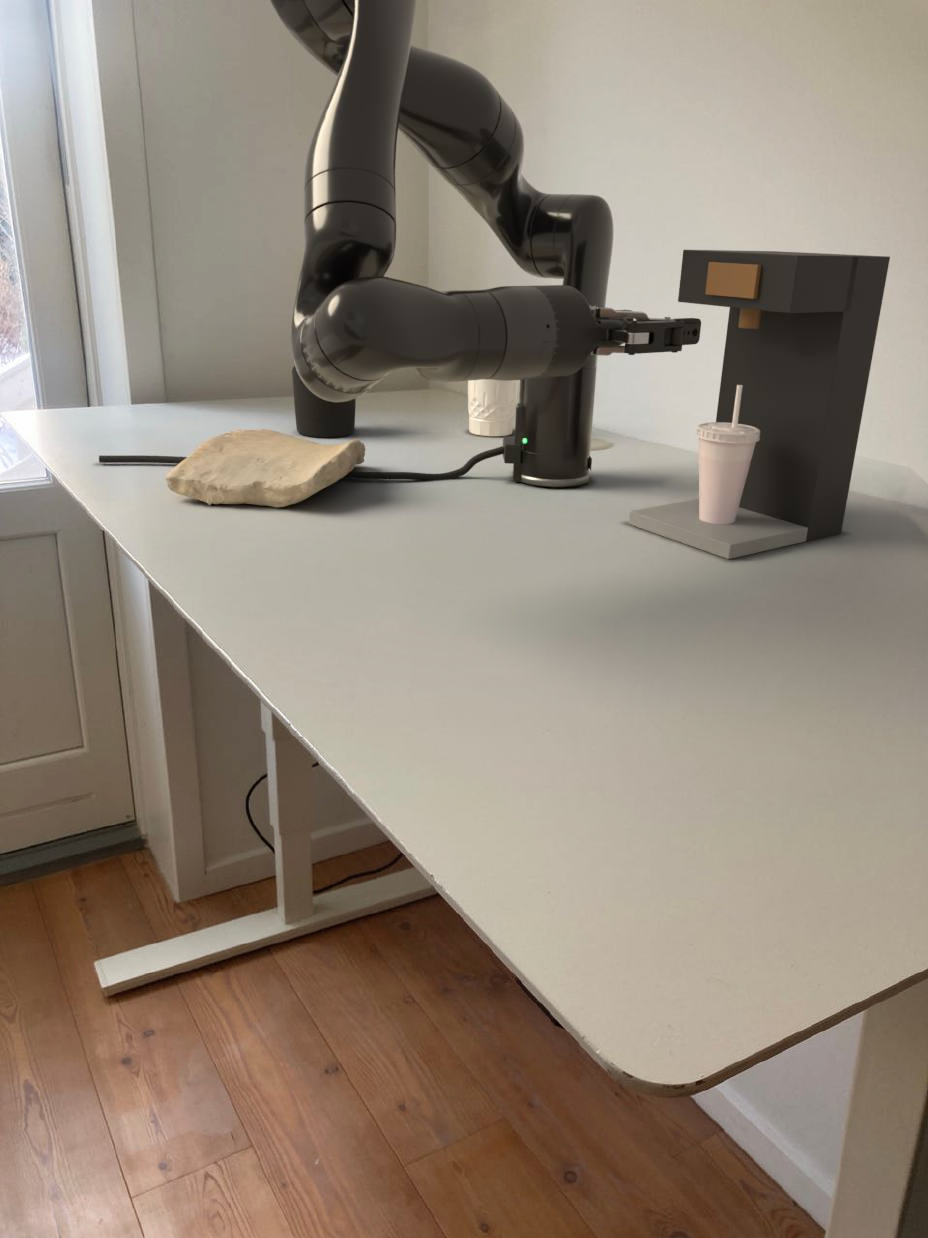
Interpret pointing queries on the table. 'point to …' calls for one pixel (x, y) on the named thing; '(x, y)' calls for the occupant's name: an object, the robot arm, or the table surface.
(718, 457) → the smoothie
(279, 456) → the beige stone slab
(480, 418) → the white cup
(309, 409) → the pen holder
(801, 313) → the coffee maker
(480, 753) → the table surface
